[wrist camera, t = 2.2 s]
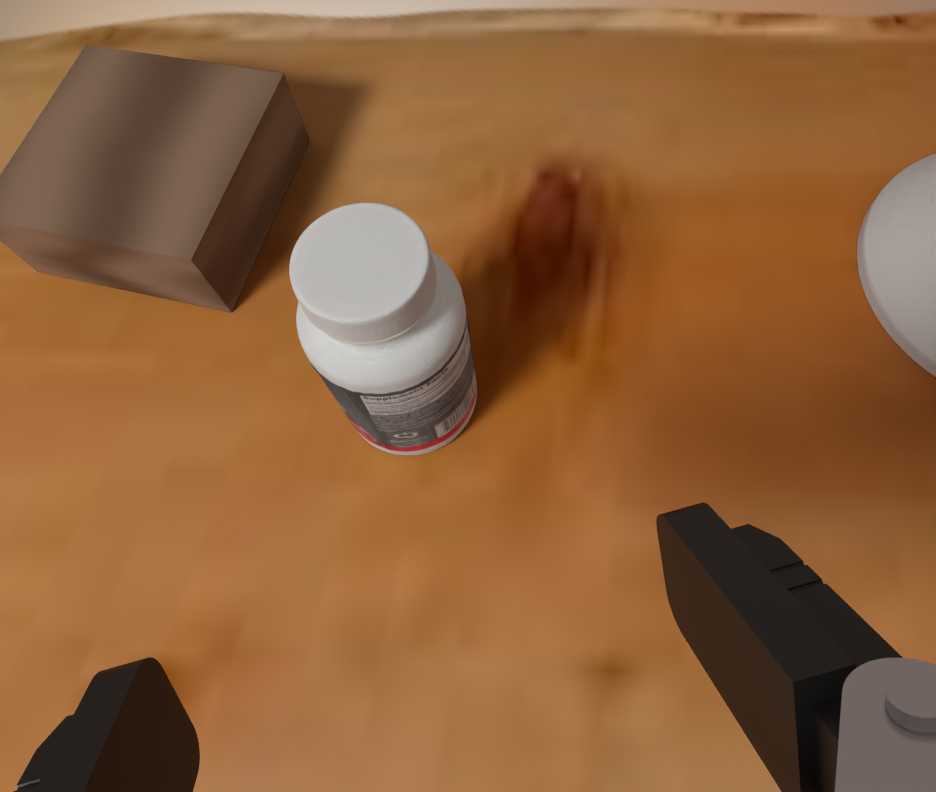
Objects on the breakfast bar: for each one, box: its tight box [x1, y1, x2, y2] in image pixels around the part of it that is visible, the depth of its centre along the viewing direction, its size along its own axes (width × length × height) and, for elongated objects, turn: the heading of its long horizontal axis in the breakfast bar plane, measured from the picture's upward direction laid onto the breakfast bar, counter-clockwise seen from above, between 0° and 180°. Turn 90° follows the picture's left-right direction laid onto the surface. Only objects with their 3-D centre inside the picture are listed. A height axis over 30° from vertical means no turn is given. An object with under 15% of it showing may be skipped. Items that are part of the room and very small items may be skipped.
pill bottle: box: [289, 203, 477, 455], centre depth 23 cm, size 5×5×10 cm
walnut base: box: [0, 45, 310, 312], centre depth 31 cm, size 10×10×4 cm
